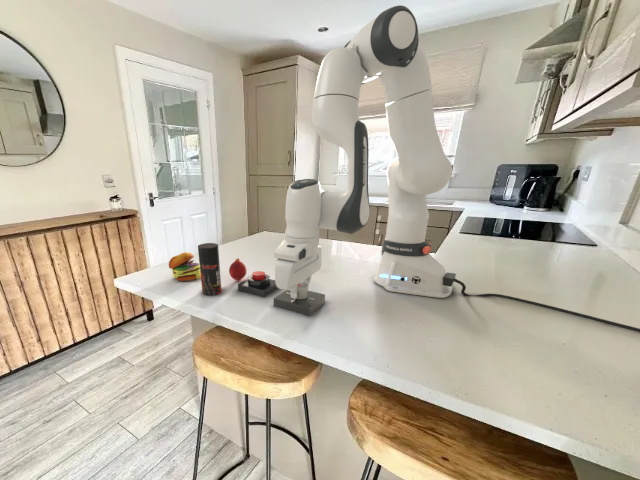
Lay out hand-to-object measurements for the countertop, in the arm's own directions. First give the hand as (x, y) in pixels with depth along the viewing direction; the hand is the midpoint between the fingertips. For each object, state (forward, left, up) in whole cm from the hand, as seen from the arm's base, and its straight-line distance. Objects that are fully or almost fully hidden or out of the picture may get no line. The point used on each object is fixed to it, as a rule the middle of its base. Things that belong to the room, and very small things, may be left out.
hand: (299, 293), depth 85 cm
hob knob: (0, 0, -1) cm, 1 cm away
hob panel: (0, 0, -3) cm, 3 cm away
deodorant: (+27, +7, -3) cm, 28 cm away
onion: (+26, -5, -3) cm, 27 cm away
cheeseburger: (+44, +2, -3) cm, 44 cm away
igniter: (+16, -3, -3) cm, 17 cm away
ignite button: (+16, -3, 0) cm, 16 cm away
